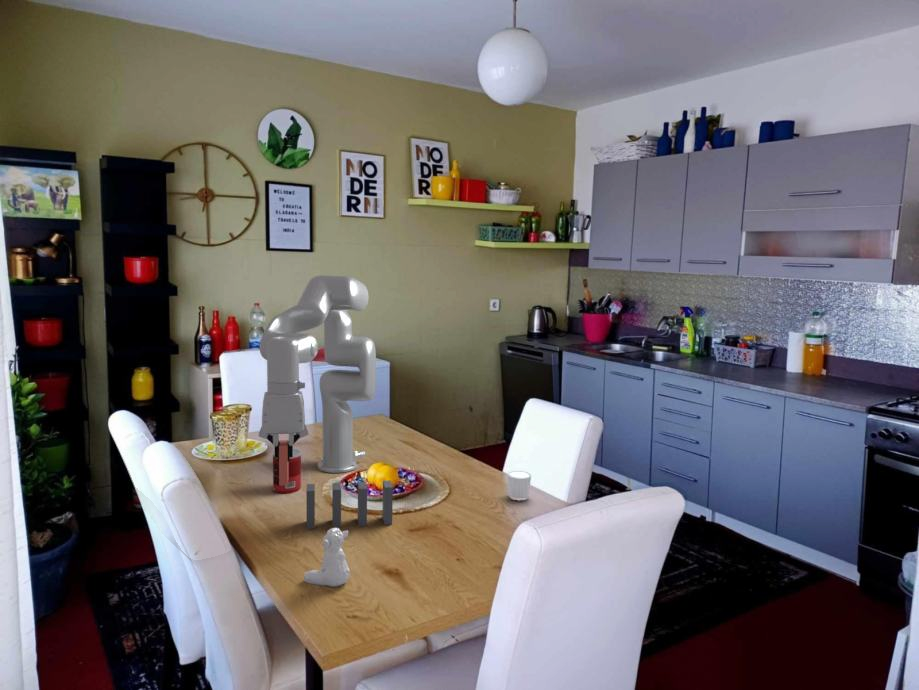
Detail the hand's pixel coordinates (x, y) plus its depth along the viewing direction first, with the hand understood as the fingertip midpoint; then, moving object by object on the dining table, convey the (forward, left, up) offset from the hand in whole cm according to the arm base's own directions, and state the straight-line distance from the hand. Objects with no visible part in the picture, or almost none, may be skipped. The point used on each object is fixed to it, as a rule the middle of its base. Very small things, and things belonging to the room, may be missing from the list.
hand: (283, 459), depth 166 cm
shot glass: (-62, +23, -18) cm, 68 cm away
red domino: (0, 0, -6) cm, 6 cm away
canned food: (-13, -23, -18) cm, 32 cm away
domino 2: (-11, +6, -18) cm, 22 cm away
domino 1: (-6, +3, -18) cm, 19 cm away
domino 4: (-23, +13, -18) cm, 31 cm away
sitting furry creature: (+5, +31, -18) cm, 36 cm away
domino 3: (-17, +10, -18) cm, 26 cm away
